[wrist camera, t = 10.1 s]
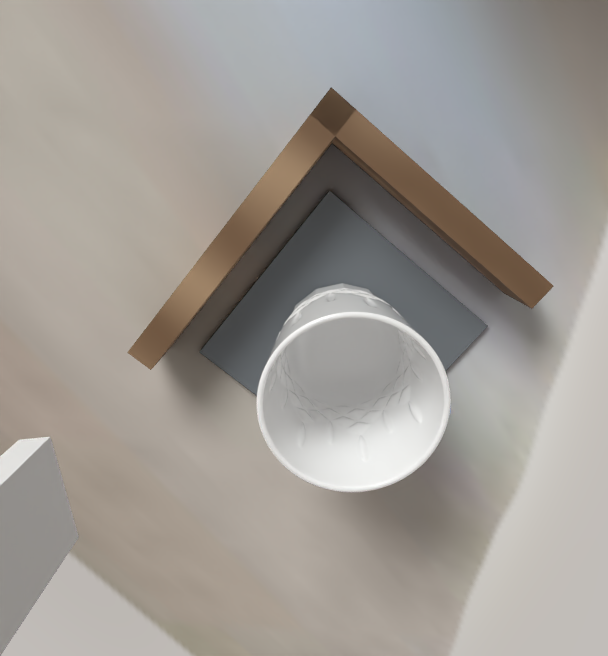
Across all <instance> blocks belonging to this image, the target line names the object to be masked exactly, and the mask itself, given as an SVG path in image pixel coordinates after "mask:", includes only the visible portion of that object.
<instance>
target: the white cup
mask: <svg viewBox="0 0 608 656" xmlns="http://www.w3.org/2000/svg"><path fill="white" fill-rule="evenodd" d="M450 404H451V397H450V387H449V382H448V378H447V375H446V372H445V369H444V367H443V365H442V363H441V361H440V359H439V357H438V355H437V354H436V352H435V351H434V350H433V348H432V347H431V346H430V345H429V344H428V342H427V341H426V340H425V339H424V338H423V337H422V336H421V335H420V334H419V333H418V332H417V331H416V330H415V329H414V328H413V327H412V326H411V325H410V324H409V323H408V322H407V321H406V320H405V319H404V317H403V316H402V315H400V314H399V313H398V312H397V311H396V310H395V309H394V308H393V307H391V306H390V305H389V304H388V303H387V302H385V301H384V300H382V299H380V298H379V297H377V296H376V295H375V294H374V293H372V292H371V291H370V290H369V289H366V288H361V287H357V286H353V285H349V284H344V283H340V284H336V285H331V286H327V287H322V288H317V289H315V290H314V291H313V292H312V293H310V294H309V295H308V296H306V297H305V298H304V299H302V300H301V301H300V302H299V303H297V304H296V305H295V307H294V309H293V311H292V313H291V315H290V316H289V317H288V319H287V320H286V322H285V323H284V325H283V327H282V329H281V331H280V332H279V335H278V337H277V339H276V341H275V344H274V346H273V349H272V351H271V354H270V356H269V358H268V361H267V363H266V365H265V368H264V370H263V372H262V375H261V378H260V382H259V386H258V391H257V416H258V421H259V425H260V429H261V432H262V434H263V437H264V439H265V441H266V443H267V445H268V447H269V448H270V450H271V451H272V453H273V454H274V456H275V457H276V458H277V459H278V460H279V461H280V463H281V464H282V465H283V466H285V467H286V468H287V469H288V470H289V471H290V472H292V473H293V474H294V475H296V476H297V477H299V478H301V479H302V480H304V481H306V482H308V483H310V484H312V485H315V486H318V487H321V488H324V489H328V490H332V491H338V492H365V491H372V490H376V489H380V488H384V487H387V486H389V485H392V484H394V483H396V482H398V481H400V480H402V479H404V478H406V477H407V476H409V475H410V474H412V473H413V472H414V471H416V470H417V469H418V468H419V467H420V466H422V465H423V464H424V463H425V462H426V461H427V459H428V458H429V457H430V456H431V455H432V453H433V452H434V451H435V449H436V448H437V446H438V444H439V443H440V441H441V439H442V437H443V435H444V432H445V430H446V427H447V423H448V419H449V414H450Z"/></svg>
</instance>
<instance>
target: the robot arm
mask: <svg viewBox="0 0 608 656" xmlns="http://www.w3.org/2000/svg"><path fill="white" fill-rule="evenodd" d="M78 537H79V536H78V533H77V529H76V526H75V522H74V519H73V515H72V511H71V508H70V504H69V501H68V497H67V494H66V490H65V487H64V483H63V479H62V476H61V472H60V469H59V465H58V462H57V458H56V455H55V451H54V447H53V444H52V440H51V437H42V438H33V439H23V440H18V441H17V442H16V443H15V444H14V445H13V446H11V447H10V448H9V449H8V450H7V451H6V452H5V453H4V454H2V455H1V456H0V655H1V654H2V653H3V651H4V650H5V648H6V647H7V645H8V643H9V642H10V641H11V639H12V637H13V636H14V634H15V633H16V631H17V630H18V628H19V627H20V625H21V624H22V622H23V621H24V619H25V618H26V616H27V615H28V613H29V612H30V610H31V609H32V607H33V606H34V604H35V603H36V601H37V599H38V598H39V597H40V595H41V593H42V592H43V591H44V589H45V587H46V586H47V584H48V583H49V581H50V580H51V578H52V577H53V575H54V574H55V572H56V571H57V569H58V568H59V566H60V565H61V563H62V562H63V560H64V558H65V557H66V556H67V554H68V553H69V551H70V550H71V548H72V547H73V545H74V544H75V542H76V541H77V539H78Z"/></svg>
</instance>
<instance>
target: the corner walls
mask: <svg viewBox="0 0 608 656" xmlns="http://www.w3.org/2000/svg"><path fill="white" fill-rule="evenodd" d="M332 143H333V144H334V145H335V146H336V147H337V148H338V149H339V150H341V151H342V152H343V153H344V154H345V155H346V156H347V157H349V158H350V159H351V160H352V161H353V162H354V163H356V164H357V165H358V166H359V167H360V168H361V169H362V170H364V171H365V172H366V173H367V174H368V175H369V176H370V177H372V178H373V179H374V180H375V181H376V182H377V183H378V184H380V185H381V186H382V187H383V188H384V189H385V190H386V191H388V192H389V193H390V194H391V195H392V196H393V197H394V198H396V199H397V200H398V201H399V202H400V203H401V204H403V205H404V206H405V207H406V208H407V209H408V210H409V211H411V212H412V213H413V214H414V215H415V216H416V217H417V218H419V219H420V220H421V221H422V222H423V223H424V224H425V225H427V226H428V227H429V228H430V229H431V230H432V231H433V232H435V233H436V234H437V235H438V236H439V237H440V238H441V239H443V240H444V241H445V242H446V243H447V244H448V245H449V246H451V247H452V248H453V249H454V250H455V251H456V252H458V253H459V254H460V255H461V256H462V257H463V258H464V259H466V260H467V261H468V262H469V263H470V264H471V265H472V266H474V267H475V268H476V269H477V270H478V271H479V272H480V273H482V274H483V275H484V276H485V277H486V278H487V279H488V280H490V281H491V282H492V283H493V284H494V285H495V286H496V287H498V288H499V289H500V290H501V291H502V292H503V293H505V294H506V295H508V296H510V297H512V298H514V299H515V300H517V301H519V302H521V303H523V304H524V305H526V306H528V307H530V308H533V307H534V306H535V305H536V304H537V303H538V302H539V301H540V300H541V299H542V298H543V297H544V296H545V295H546V294H547V293H548V292H549V290H550V289H551V288H552V287H553V285H552V284H551V283H550V282H549V281H548V280H546V279H545V278H544V277H543V276H542V275H541V274H540V273H539V272H537V271H536V270H535V269H534V268H533V267H532V266H531V265H530V264H528V263H527V262H526V261H525V260H524V259H523V258H522V257H521V256H520V255H518V254H517V253H516V252H515V251H514V250H513V249H512V248H511V247H509V246H508V245H507V244H506V243H505V242H504V241H503V240H502V239H500V238H499V237H498V236H497V235H496V234H495V233H494V232H493V231H492V230H490V229H489V228H488V227H487V226H486V225H485V224H484V223H483V222H481V221H480V220H479V219H478V218H477V217H476V216H475V215H474V214H472V213H471V212H470V211H469V210H468V209H467V208H466V207H465V206H463V205H462V204H461V203H460V202H459V201H458V200H457V199H456V198H455V197H453V196H452V195H451V194H450V193H449V192H448V191H447V190H446V189H444V188H443V187H442V186H441V185H440V184H439V183H438V182H437V181H435V180H434V179H433V178H432V177H431V176H430V175H429V174H428V173H427V172H425V171H424V170H423V169H422V168H421V167H420V166H419V165H418V164H416V163H415V162H414V161H413V160H412V159H411V158H410V157H409V156H407V155H406V154H405V153H404V152H403V151H402V150H401V149H400V148H399V147H397V146H396V145H395V144H394V143H393V142H392V141H391V140H390V139H388V138H387V137H386V136H385V135H384V134H383V133H382V132H381V131H379V130H378V129H377V128H376V127H375V126H374V125H373V124H372V123H371V122H369V121H368V120H367V119H366V118H365V117H364V116H363V115H362V114H360V113H359V112H358V111H357V110H356V109H355V108H354V107H353V106H351V105H350V104H349V103H348V102H347V101H346V100H345V99H344V98H343V97H341V96H340V95H339V94H338V93H337V92H336V91H335V90H334V89H332V88H330V90H329V91H328V92H327V93H326V95H325V96H324V97H323V99H322V100H321V101H320V103H319V104H318V105H317V106H316V108H315V109H314V110H313V112H312V113H311V114H310V116H309V117H308V118H307V120H306V121H305V122H304V123H303V125H302V126H301V127H300V129H299V130H298V131H297V133H296V134H295V135H294V136H293V138H292V139H291V140H290V142H289V143H288V144H287V146H286V147H285V148H284V149H283V151H282V152H281V153H280V155H279V156H278V157H277V159H276V160H275V161H274V162H273V164H272V165H271V166H270V168H269V169H268V170H267V172H266V173H265V174H264V175H263V177H262V178H261V179H260V181H259V182H258V183H257V185H256V186H255V187H254V188H253V190H252V191H251V192H250V194H249V195H248V196H247V198H246V199H245V200H244V202H243V203H242V204H241V205H240V207H239V208H238V209H237V211H236V212H235V213H234V215H233V216H232V217H231V218H230V220H229V221H228V222H227V224H226V225H225V226H224V228H223V229H222V230H221V231H220V233H219V234H218V235H217V237H216V238H215V239H214V241H213V242H212V243H211V244H210V246H209V247H208V248H207V250H206V251H205V252H204V254H203V255H202V256H201V257H200V259H199V260H198V261H197V263H196V264H195V265H194V267H193V268H192V269H191V270H190V272H189V273H188V274H187V276H186V277H185V278H184V280H183V281H182V282H181V284H180V285H179V286H178V287H177V289H176V290H175V291H174V293H173V294H172V295H171V297H170V298H169V299H168V300H167V302H166V303H165V304H164V306H163V307H162V308H161V310H160V311H159V312H158V313H157V315H156V316H155V317H154V319H153V320H152V321H151V323H150V324H149V325H148V326H147V328H146V329H145V330H144V332H143V333H142V334H141V336H140V337H139V338H138V339H137V341H136V342H135V343H134V345H133V346H132V347H131V349H130V350H129V351H128V352H127V353H129V354H130V355H131V356H133V357H134V358H135V359H137V360H138V361H140V362H141V363H142V364H144V365H145V366H146V367H148V368H149V369H150V370H151V369H152V368H153V367H154V366H155V365H156V364H157V362H158V361H159V360H160V359H161V358H162V357H163V356H164V355H165V353H166V352H167V351H168V350H169V349H170V348H171V346H172V345H173V344H174V343H175V341H176V340H177V339H178V338H179V336H180V335H181V334H182V333H183V331H184V330H185V329H186V327H187V326H188V325H189V324H190V322H191V321H192V320H193V319H194V317H195V316H196V315H197V313H198V312H199V311H200V310H201V308H202V307H203V306H204V305H205V303H206V302H207V301H208V300H209V298H210V297H211V296H212V294H213V293H214V292H215V291H216V289H217V288H218V287H219V286H220V284H221V283H222V282H223V281H224V279H225V278H226V277H227V275H228V274H229V273H230V272H231V270H232V269H233V268H234V267H235V265H236V264H237V263H238V262H239V260H240V259H241V258H242V256H243V255H244V254H245V253H246V251H247V250H248V249H249V248H250V246H251V245H252V244H253V243H254V241H255V240H256V239H257V237H258V236H259V235H260V234H261V232H262V231H263V230H264V229H265V227H266V226H267V225H268V223H269V222H270V221H271V220H272V218H273V217H274V216H275V215H276V213H277V212H278V211H279V210H280V208H281V207H282V206H283V204H284V203H285V202H286V201H287V199H288V198H289V197H290V196H291V194H292V193H293V192H294V191H295V189H296V188H297V187H298V185H299V184H300V183H301V182H302V180H303V179H304V178H305V177H306V175H307V174H308V173H309V172H310V170H311V169H312V168H313V166H314V165H315V164H316V163H317V161H318V160H319V159H320V158H321V156H322V155H323V154H324V153H325V151H326V150H327V149H328V147H329V146H330V145H331V144H332Z"/></svg>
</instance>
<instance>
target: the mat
mask: <svg viewBox="0 0 608 656" xmlns="http://www.w3.org/2000/svg"><path fill="white" fill-rule="evenodd" d="M340 283H344V284H349V285H353V286H357V287H361V288H366V289H369V290H370V291H371V292H372V293H374V294H375V295H376V296H377V297H379V298H380V299H382V300H384V301H385V302H387V303H388V304H389V305H390V306H391V307H393V308H394V309H395V310H396V311H397V312H398V313H399V314H400V315H402V316H403V317H404V319H405V320H406V321H407V322H408V323H409V324H410V325H411V326H412V327H413V328H414V329H415V330H416V331H417V332H418V333H419V334H420V335H421V336H422V337H423V338H424V339H425V340H426V341H427V342H428V344H429V345H430V346H431V347H432V348H433V350H434V351H435V352H436V354H437V355H438V357H439V359H440V361H441V363H442V365H443V367H444V369H445V371H446V370H447V369H448V368H449V367H450V366H451V365H452V363H453V362H454V361H455V360H456V359H457V358H458V357H459V356H460V355H461V354H462V353H463V352H464V351H465V350H466V349H467V348H468V347H469V345H470V344H471V343H472V342H473V341H474V340H475V339H476V338H477V337H478V336H479V335H480V334H481V333H482V332H483V331H484V330H485V329H486V327H487V325H486V324H485V323H484V322H483V321H482V320H480V319H479V318H478V317H477V316H476V315H475V314H473V313H472V312H471V311H470V310H469V309H467V308H466V307H465V306H464V305H463V304H462V303H460V302H459V301H458V300H457V299H456V298H455V297H453V296H452V295H451V294H450V293H449V292H448V291H446V290H445V289H444V288H443V287H442V286H441V285H439V284H438V283H437V282H436V281H435V280H434V279H432V278H431V277H430V276H429V275H428V274H427V273H425V272H424V271H423V270H422V269H421V268H419V267H418V266H417V265H416V264H415V263H414V262H412V261H411V260H410V259H409V258H408V257H407V256H405V255H404V254H403V253H402V252H401V251H400V250H398V249H397V248H396V247H395V246H394V245H393V244H391V243H390V242H389V241H388V240H387V239H386V238H384V237H383V236H382V235H381V234H380V233H379V232H377V231H376V230H375V229H374V228H373V227H371V226H370V225H369V224H368V223H367V222H366V221H364V220H363V219H362V218H361V217H360V216H359V215H357V214H356V213H355V212H354V211H353V210H352V209H350V208H349V207H348V206H347V205H346V204H345V203H343V202H342V201H341V200H340V199H339V198H338V197H336V196H335V195H334V194H333V193H332V192H331V191H329V192H328V193H327V194H326V196H325V197H324V198H323V199H322V201H321V202H320V203H319V204H318V206H317V207H316V208H315V209H314V211H313V212H312V213H311V214H310V215H309V217H308V218H307V219H306V220H305V222H304V223H303V224H302V225H301V227H300V228H299V229H298V230H297V232H296V233H295V234H294V235H293V237H292V238H291V239H290V240H289V242H288V243H287V244H286V245H285V246H284V248H283V249H282V250H281V251H280V253H279V254H278V255H277V256H276V258H275V259H274V260H273V261H272V263H271V264H270V265H269V266H268V268H267V269H266V270H265V271H264V273H263V274H262V275H261V276H260V278H259V279H258V280H257V281H256V282H255V284H254V285H253V286H252V287H251V289H250V290H249V291H248V292H247V294H246V295H245V296H244V297H243V299H242V300H241V301H240V302H239V304H238V305H237V306H236V307H235V309H234V310H233V311H232V312H231V313H230V315H229V316H228V317H227V318H226V320H225V321H224V322H223V323H222V325H221V326H220V327H219V328H218V330H217V331H216V332H215V333H214V335H213V336H212V337H211V338H210V340H209V341H208V342H207V343H206V345H205V346H204V347H203V348H202V349H201V351H200V353H201V354H202V355H204V356H205V357H206V358H208V359H209V360H210V361H212V362H213V363H214V364H216V365H217V366H218V367H220V368H221V369H222V370H224V371H225V372H226V373H227V374H229V375H230V376H231V377H233V378H234V379H235V380H237V381H238V382H239V383H241V384H242V385H243V386H245V387H246V388H247V389H249V390H250V391H251V392H253V393H254V394H255V395H257V391H258V386H259V382H260V378H261V375H262V372H263V370H264V368H265V365H266V363H267V361H268V358H269V356H270V354H271V351H272V349H273V346H274V344H275V341H276V339H277V337H278V335H279V332H280V331H281V329H282V327H283V325H284V323H285V322H286V320H287V319H288V317H289V316H290V315H291V313H292V311H293V309H294V307H295V305H296V304H297V303H299V302H300V301H301V300H302V299H304V298H305V297H306V296H308V295H309V294H310V293H312V292H313V291H314V290H315V289H317V288H322V287H327V286H331V285H336V284H340Z"/></svg>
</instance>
